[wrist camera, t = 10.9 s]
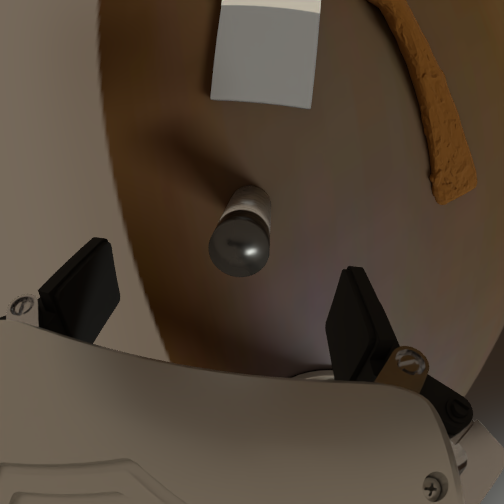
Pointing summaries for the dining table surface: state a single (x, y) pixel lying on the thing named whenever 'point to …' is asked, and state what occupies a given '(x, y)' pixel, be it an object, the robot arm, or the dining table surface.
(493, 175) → the dining table surface
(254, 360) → the dining table surface
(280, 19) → the panel
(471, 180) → the primitive tool
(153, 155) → the dining table surface
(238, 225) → the steel peg
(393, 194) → the dining table surface
